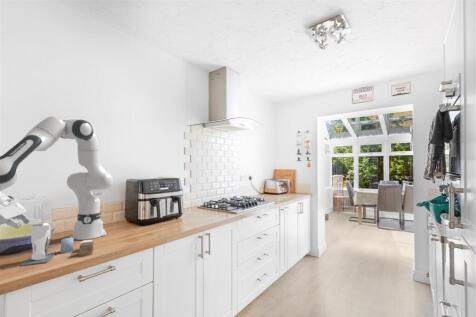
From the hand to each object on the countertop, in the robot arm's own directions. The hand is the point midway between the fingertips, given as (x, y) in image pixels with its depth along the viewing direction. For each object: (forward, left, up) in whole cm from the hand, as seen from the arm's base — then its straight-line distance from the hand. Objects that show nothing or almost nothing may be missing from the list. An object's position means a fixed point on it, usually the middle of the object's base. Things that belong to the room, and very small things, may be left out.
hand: (24, 225), depth 102 cm
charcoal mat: (0, +6, -16) cm, 17 cm away
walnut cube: (-1, +24, -16) cm, 29 cm away
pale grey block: (-8, +22, -16) cm, 29 cm away
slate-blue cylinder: (-8, +14, -16) cm, 23 cm away
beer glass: (0, +6, -16) cm, 17 cm away
